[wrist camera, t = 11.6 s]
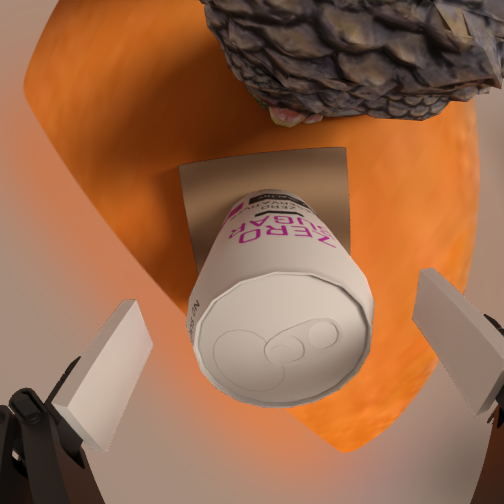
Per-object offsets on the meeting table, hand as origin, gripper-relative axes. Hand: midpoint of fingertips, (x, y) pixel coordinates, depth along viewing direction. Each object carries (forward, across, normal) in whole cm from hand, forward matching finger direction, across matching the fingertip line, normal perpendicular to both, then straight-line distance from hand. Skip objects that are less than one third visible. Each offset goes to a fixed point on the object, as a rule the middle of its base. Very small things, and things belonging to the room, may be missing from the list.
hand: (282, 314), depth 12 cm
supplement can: (+13, 0, -1) cm, 13 cm away
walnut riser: (+17, 0, -1) cm, 17 cm away
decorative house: (+18, +8, +15) cm, 24 cm away
